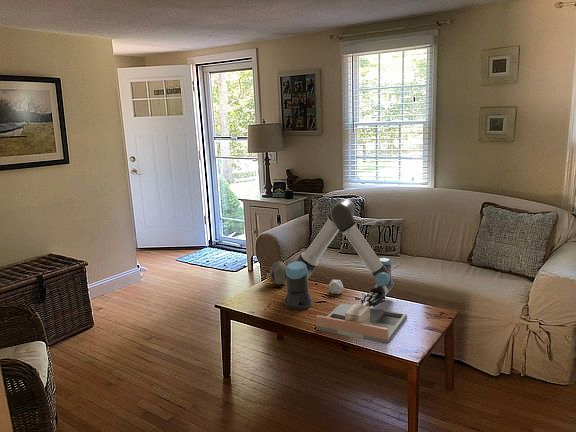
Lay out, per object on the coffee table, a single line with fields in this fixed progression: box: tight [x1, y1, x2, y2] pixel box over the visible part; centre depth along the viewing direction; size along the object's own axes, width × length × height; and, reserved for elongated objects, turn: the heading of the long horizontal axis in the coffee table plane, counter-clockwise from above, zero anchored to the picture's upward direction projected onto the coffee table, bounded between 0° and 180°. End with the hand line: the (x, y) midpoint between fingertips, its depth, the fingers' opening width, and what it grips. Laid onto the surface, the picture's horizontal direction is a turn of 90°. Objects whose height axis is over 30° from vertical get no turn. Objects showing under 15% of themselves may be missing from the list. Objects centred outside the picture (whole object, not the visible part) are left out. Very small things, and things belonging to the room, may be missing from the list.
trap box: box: [315, 302, 408, 345], centre depth 228 cm, size 36×30×7 cm
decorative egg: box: [269, 260, 287, 286], centre depth 288 cm, size 12×12×15 cm
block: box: [345, 303, 371, 324], centre depth 222 cm, size 8×12×8 cm, turn 150°
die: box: [327, 279, 344, 295], centre depth 269 cm, size 8×9×10 cm
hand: (362, 308), depth 227 cm, fingers closed
